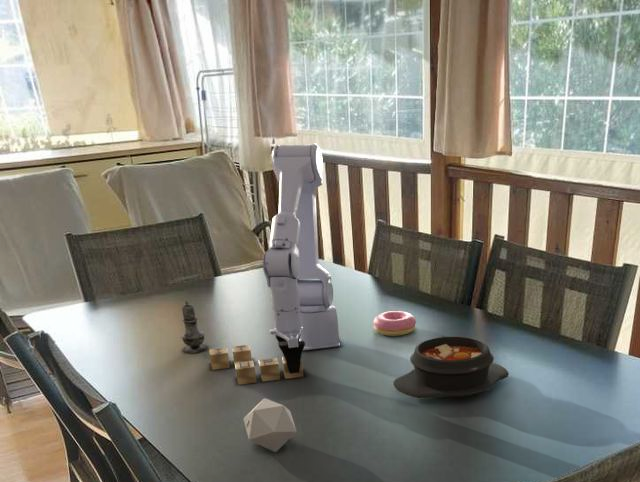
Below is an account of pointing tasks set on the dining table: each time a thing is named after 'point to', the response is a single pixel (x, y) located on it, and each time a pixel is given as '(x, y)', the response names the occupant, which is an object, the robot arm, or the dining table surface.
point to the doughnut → (394, 323)
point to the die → (270, 425)
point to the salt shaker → (192, 330)
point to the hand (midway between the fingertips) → (293, 368)
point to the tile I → (219, 358)
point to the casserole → (450, 369)
